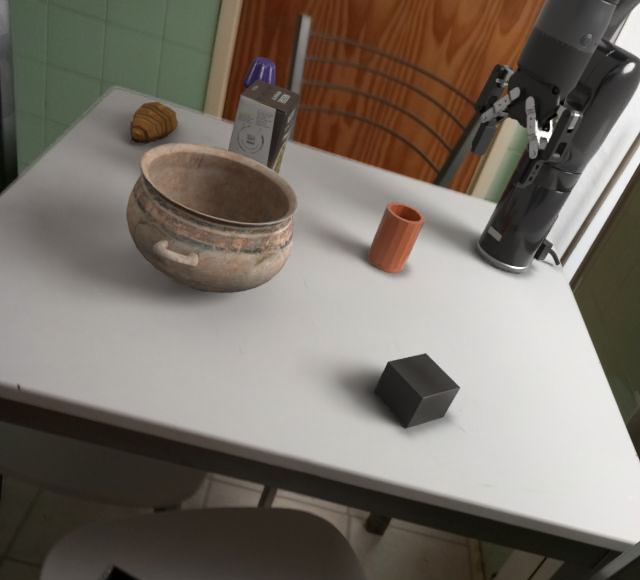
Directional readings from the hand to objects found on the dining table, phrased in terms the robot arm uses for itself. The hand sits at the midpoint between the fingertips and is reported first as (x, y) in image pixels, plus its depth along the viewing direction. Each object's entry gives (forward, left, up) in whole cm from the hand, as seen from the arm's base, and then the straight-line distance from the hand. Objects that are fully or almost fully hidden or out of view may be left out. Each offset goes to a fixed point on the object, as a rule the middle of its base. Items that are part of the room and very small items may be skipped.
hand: (497, 169), depth 88 cm
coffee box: (+21, -23, -18) cm, 36 cm away
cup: (+6, -7, -18) cm, 20 cm away
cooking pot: (+36, -8, -18) cm, 41 cm away
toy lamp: (+16, -33, -18) cm, 40 cm away
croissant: (+24, -45, -18) cm, 54 cm away
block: (+24, +19, -18) cm, 35 cm away
